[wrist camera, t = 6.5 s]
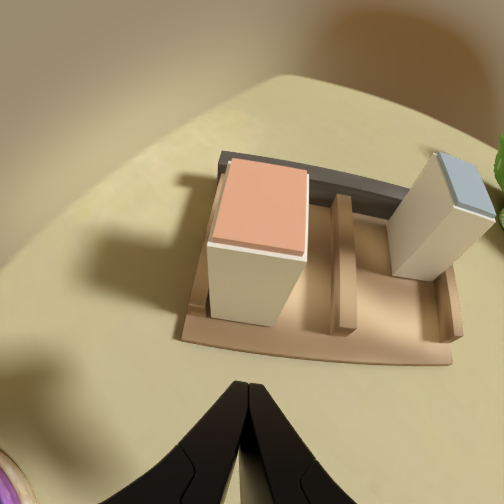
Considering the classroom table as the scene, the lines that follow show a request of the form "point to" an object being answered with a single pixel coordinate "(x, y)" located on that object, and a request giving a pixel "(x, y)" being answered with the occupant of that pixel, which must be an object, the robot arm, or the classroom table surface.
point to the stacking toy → (14, 484)
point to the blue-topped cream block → (438, 218)
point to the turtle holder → (500, 173)
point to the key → (257, 241)
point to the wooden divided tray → (340, 286)
